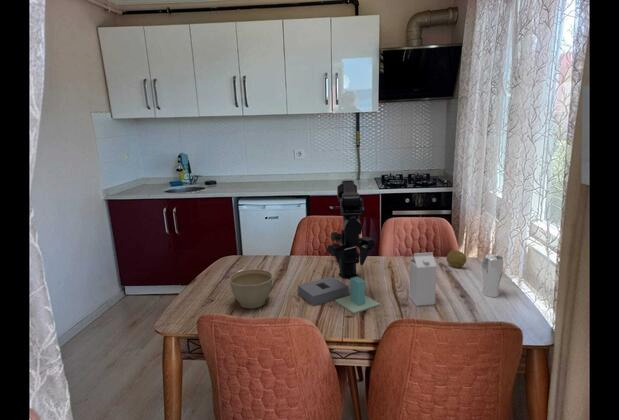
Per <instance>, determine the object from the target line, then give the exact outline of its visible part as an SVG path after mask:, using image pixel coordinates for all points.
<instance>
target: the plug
mask: <svg viewBox="0 0 619 420" xmlns="http://www.w3.org/2000/svg"><path fill="white" fill-rule="evenodd" d="M349 279H350V283H349V284H350V285H349V286H350V295H351V301H352V302H354V303H355V304H357V305H358V306H359V305H362V304H365V295H366V280H364V279H362V278H361V277H359V276H355V277H352V278H349Z"/></svg>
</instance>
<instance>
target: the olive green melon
mask: <svg viewBox="0 0 619 420" xmlns="http://www.w3.org/2000/svg"><path fill="white" fill-rule="evenodd" d="M446 262H447V263H448V264H449V265H450V266H452V267H453V266H454V267H453V268H455V267H459V268H462V267H463V266H465V264H466V262H467V257H466V255H465V253H464V252H462V251H460V250H455V249H453V250H450V251H449V252H448V253H447V256H446ZM459 268H458V269H459Z"/></svg>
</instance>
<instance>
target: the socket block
mask: <svg viewBox="0 0 619 420" xmlns="http://www.w3.org/2000/svg"><path fill="white" fill-rule="evenodd" d="M297 292H298V293H297V295H298V296H300V297H301V298H302V299H303V300H304V301H306V302H308V303H309V305H311V306H312V307H315V306H320V305H323V304H327V303H330V302H332V301H335V300H336V299H339V298H343V297H346V296H349V293H350V291H349V285H347V284H346V283H344V282H342V281H340V279H337V278H335V277H333V276H332V275H331V276H328V277H325V278H321V279H317V280H313V281H309V282H305V283H302V284H298V285H297Z"/></svg>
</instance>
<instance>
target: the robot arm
mask: <svg viewBox="0 0 619 420" xmlns="http://www.w3.org/2000/svg"><path fill="white" fill-rule="evenodd" d="M336 188H337V190H336V195H337V199H338V202H339V204H340V215H341V217H342V228H343V229H341V231H340V232H341V233H338V232H337V231H336V232H331V234H330V235H331V236H330V237H331V241H332V242H335V243H333V244H328V245H327V247H326V253H327V254H329V255H331V256H333V257H334V258H335V259H336V262H337V264H338V266H339V272H338V275H339V276H340V277H343V278H344V279H346V280H347V279H350V278H353V277H359V274H358V273H357V265H358V264H360V265H361V266H363V265H364V263H365V261H366V259H367V258H368V256H369V254H370V252H371V251H372V250H373V248H375V247H376V240H375V239H374V238H372V237H369V236H364V237H360V235H362V229H363V226H362V224H361V221H360V216H363V215H364V214H363V213H365V205H364V200H363V198H362V197H361V195H360V193H359V192H358V186H357V184H355V181H354V180H352V179H350V180H347V179H346V180H342V181H341V183H340V184H339V185H337V187H336ZM339 242H340V244H338V243H339ZM357 248H358V249H357Z"/></svg>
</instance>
